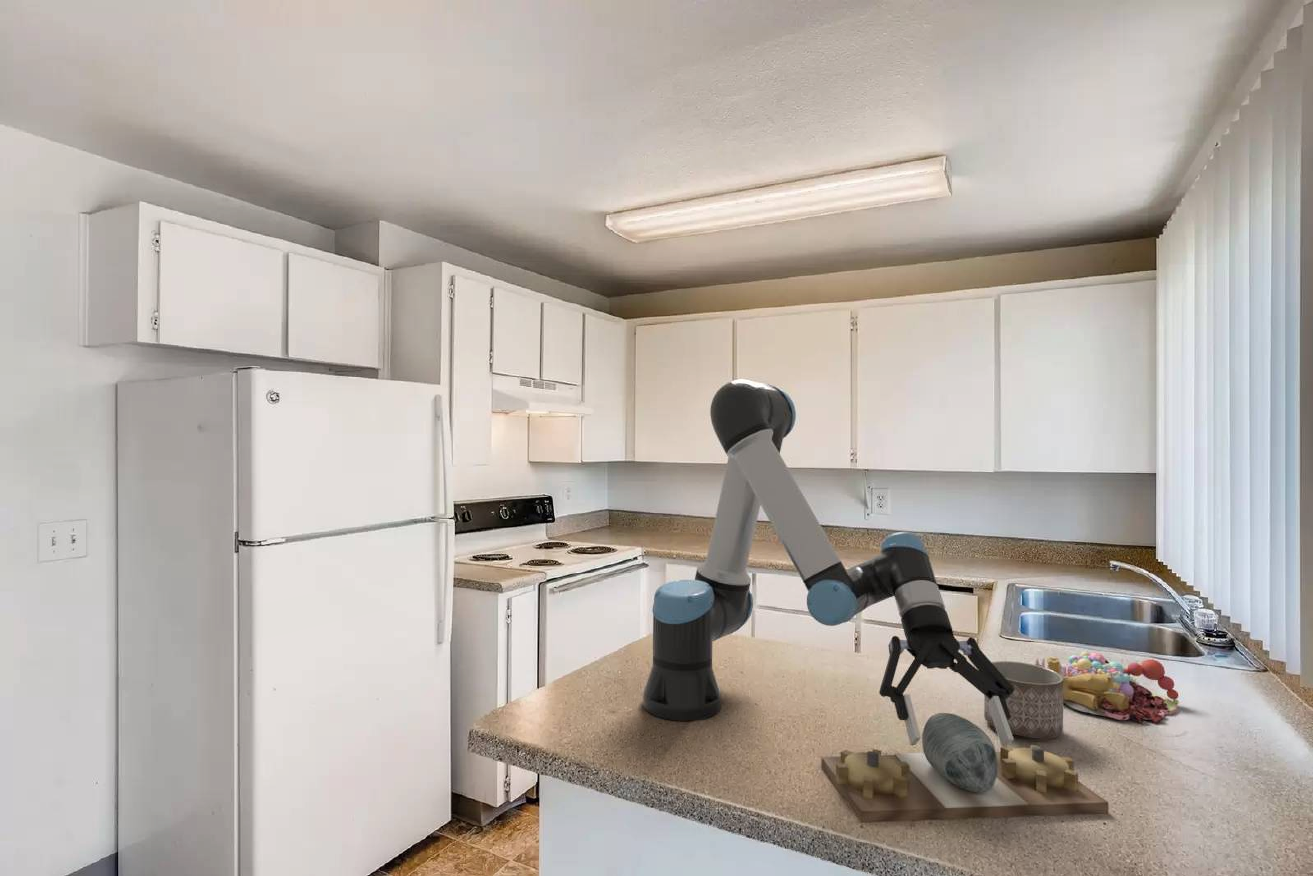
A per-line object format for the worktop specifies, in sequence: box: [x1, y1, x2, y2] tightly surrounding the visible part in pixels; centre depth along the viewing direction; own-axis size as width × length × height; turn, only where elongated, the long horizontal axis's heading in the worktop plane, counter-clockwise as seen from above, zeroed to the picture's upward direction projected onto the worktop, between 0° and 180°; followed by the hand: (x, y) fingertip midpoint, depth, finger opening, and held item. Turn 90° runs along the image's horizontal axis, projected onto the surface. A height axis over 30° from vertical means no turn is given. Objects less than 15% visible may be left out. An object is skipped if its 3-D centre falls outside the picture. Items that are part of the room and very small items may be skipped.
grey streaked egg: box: [921, 712, 997, 793], centre depth 102 cm, size 14×10×10 cm
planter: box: [983, 660, 1064, 739], centre depth 124 cm, size 13×13×10 cm
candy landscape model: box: [1035, 651, 1180, 724], centre depth 139 cm, size 25×24×9 cm
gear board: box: [820, 744, 1109, 823], centre depth 101 cm, size 37×16×6 cm, turn 95°
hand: (961, 742), depth 100 cm, fingers open, 13 cm apart
